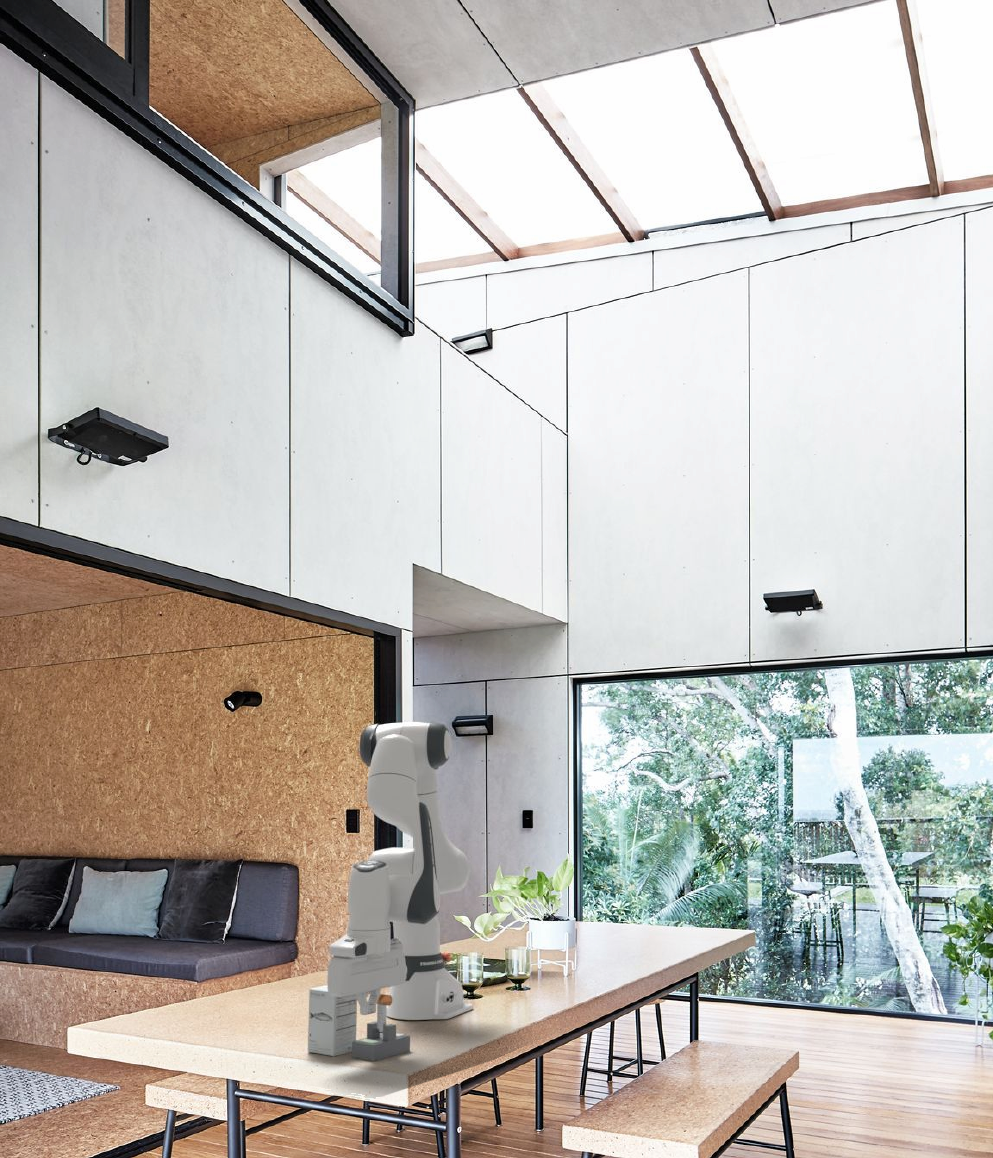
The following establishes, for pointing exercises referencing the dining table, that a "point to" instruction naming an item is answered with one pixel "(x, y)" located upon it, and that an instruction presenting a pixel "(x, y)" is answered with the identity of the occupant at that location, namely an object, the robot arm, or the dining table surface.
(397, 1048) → the breaker housing
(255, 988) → the dining table surface
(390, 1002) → the breaker lever
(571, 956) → the dining table surface
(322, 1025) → the supplement box
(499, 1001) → the dining table surface
